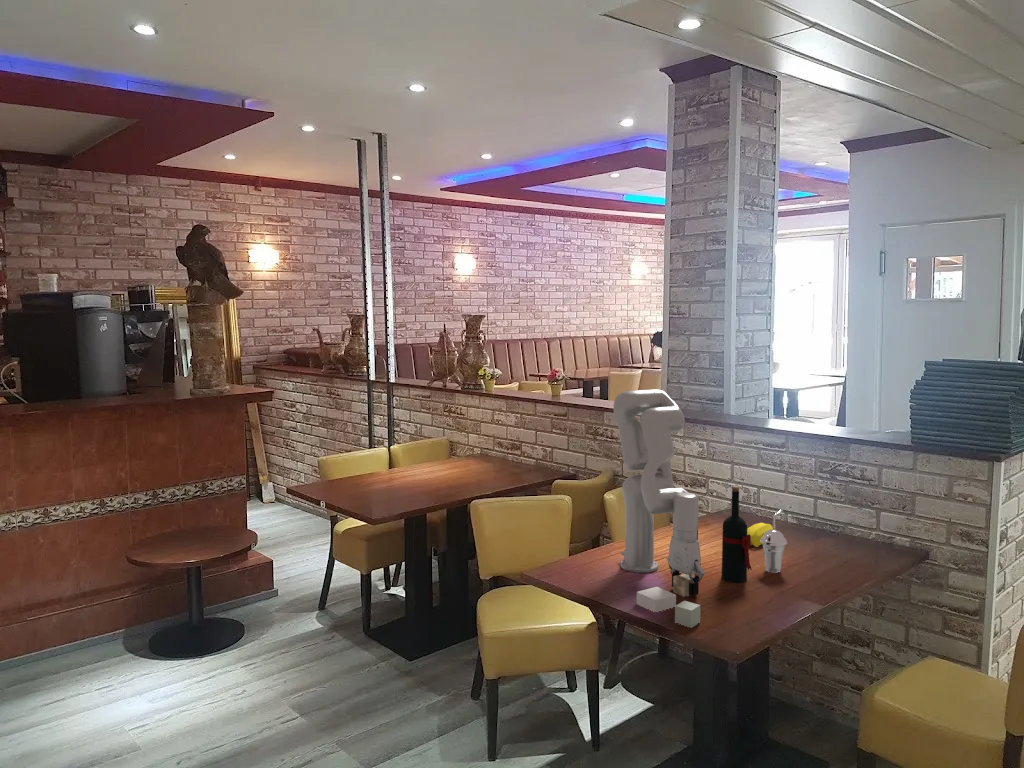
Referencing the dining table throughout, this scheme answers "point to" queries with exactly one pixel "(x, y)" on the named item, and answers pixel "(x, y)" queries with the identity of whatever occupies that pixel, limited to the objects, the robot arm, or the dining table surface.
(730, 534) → the wine bottle
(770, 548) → the cup with straw
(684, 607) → the sage cube
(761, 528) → the yellow rounded lump
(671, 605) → the base block
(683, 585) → the maple cube
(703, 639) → the dining table surface
